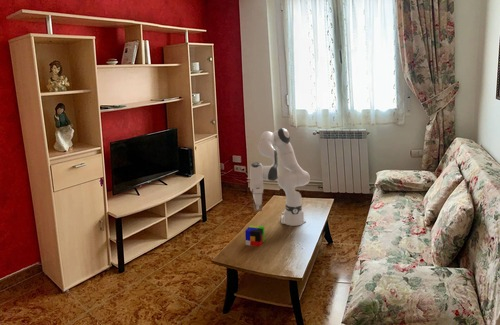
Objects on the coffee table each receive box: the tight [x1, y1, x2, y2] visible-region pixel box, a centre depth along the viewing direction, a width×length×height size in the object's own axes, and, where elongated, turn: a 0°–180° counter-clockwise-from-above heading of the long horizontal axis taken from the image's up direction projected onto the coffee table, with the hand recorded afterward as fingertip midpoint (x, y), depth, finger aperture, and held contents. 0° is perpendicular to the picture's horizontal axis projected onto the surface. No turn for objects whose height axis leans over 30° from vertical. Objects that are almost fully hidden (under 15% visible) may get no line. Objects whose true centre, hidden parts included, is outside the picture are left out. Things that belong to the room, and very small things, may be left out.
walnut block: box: [252, 201, 263, 213], centre depth 275 cm, size 5×5×5 cm
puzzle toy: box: [244, 224, 265, 247], centre depth 277 cm, size 10×10×10 cm
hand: (257, 207), depth 275 cm, fingers closed on walnut block, 5 cm apart
